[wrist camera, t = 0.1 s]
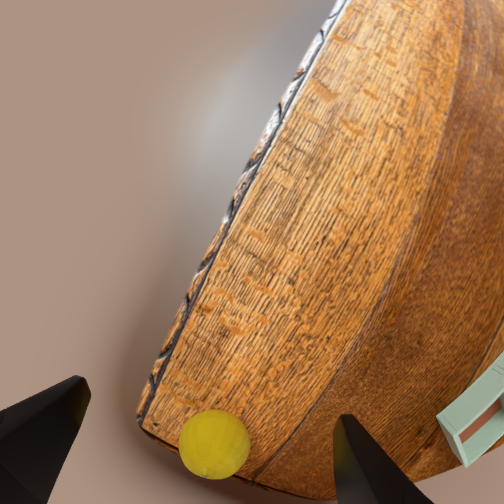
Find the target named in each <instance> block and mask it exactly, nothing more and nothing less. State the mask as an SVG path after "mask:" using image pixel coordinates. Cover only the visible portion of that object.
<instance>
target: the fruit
mask: <svg viewBox="0 0 504 504" xmlns="http://www.w3.org/2000/svg"><path fill="white" fill-rule="evenodd" d="M250 446H251V444H250V438H249V433H248V430H247V428H246V427H245V426H244V424H243V423H242V421H241V420H240V419H238V418H237V417H236V416H234V415H233V414H231V413H229V412H227V411H224V410H218V409H212V410H206V411H203V412H200V413H198V414H196V415H194V416H193V417H191V418H190V419H189V420H188V421H187V422H186V423H185V425H184V427H183V428H182V430H181V432H180V436H179V452H180V456H181V458H182V460H183V462H184V464H185V466H186V467H187V468H188V469H189V470H190V471H191V472H193V473H194V474H196V475H198V476H201V477H204V478H208V479H223V478H227V477H229V476H231V475H233V474H234V473H235V472H237V471H238V469H239V468H240V467H241V466H242V465H243V464H244V463H245V461H246V459H247V457H248V454H249V450H250Z"/></svg>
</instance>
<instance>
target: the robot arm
mask: <svg viewBox="0 0 504 504" xmlns="http://www.w3.org/2000/svg"><path fill="white" fill-rule="evenodd" d="M90 399H91V391H90V389H89V386H88V384H87V381H86V379H85V378H84V377H81V376H78V375H74V376H72V377H70V378H68V379H66V380H64V381H62V382H60V383H58V384H56V385H54V386H52V387H50V388H48V389H46V390H44V391H42V392H39V393H37V394H35V395H33V396H31V397H29V398H27V399H25V400H23V401H21V402H19V403H16V404H14V405H12V406H10V407H8V408H6V409H4V410H2V411H0V504H47V502H48V499H49V497H50V494H51V492H52V490H53V487H54V485H55V482H56V479H57V477H58V475H59V473H60V470H61V468H62V466H63V464H64V462H65V459H66V457H67V455H68V453H69V451H70V448H71V446H72V444H73V442H74V440H75V438H76V436H77V434H78V431H79V429H80V427H81V424H82V421H83V418H84V416H85V413H86V410H87V407H88V404H89V402H90ZM333 454H334V478H335V485H336V492H337V500H338V504H434V503H433V502H432V501H431V500H430V499H429V498H427V497H426V496H425V495H424V494H423V493H422V492H421V491H420V490H419V489H418V488H417V487H416V486H415V485H414V484H413V482H412V481H411V480H409V478H408V477H407V476H406V475H405V474H404V473H403V472H402V470H401V469H400V468H399V467H398V466H397V465H396V464H395V463H394V461H393V460H392V459H391V458H390V457H389V456H388V455H387V454H386V452H385V451H384V450H383V449H382V448H381V447H380V446H379V444H378V443H377V442H376V441H375V440H374V439H373V438H372V436H371V435H370V434H369V433H368V432H367V431H366V429H365V428H364V427H363V426H362V425H361V424H360V423H359V421H358V420H357V419H356V418H355V417H354V416H353V415H352V414H341V415H340V416H339V417H338V420H337V422H336V425H335V427H334V430H333Z"/></svg>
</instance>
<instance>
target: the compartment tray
mask: <svg viewBox="0 0 504 504" xmlns="http://www.w3.org/2000/svg"><path fill="white" fill-rule="evenodd" d="M436 418H437V420H438V422H439V424H440V426H441V428H442V430H443V433H444V435H445V437H446V439H447V441H448V443H449V445H450V448H451V450H452V451H453V452H454V454H455V455H456V456H457V458H458V459H459V460H460V462H461V463H462V464H463V466H464V467H465V468H466V467H468V466H469V465H470V464H471V463H472V462H474V461H475V460H476V459H477V458H478V457H480V456H481V455H482V454H483V453H484V452H485V451H486V450H487V449H489V448H490V447H491V446H492V445H493V444H494V443H495V442H496V441H497V440H498V439H499V438H500V437H501V436H502V435H503V434H504V351H503V352H502V353H501V354H500V355H499V356H498V358H497V359H496V360H495V361H494V362H493V363H492V364H491V365H490V366H489V367H488V368H487V370H486V371H485V372H484V373H483V374H482V375H481V376H480V377H479V378H478V379H477V380H476V381H475V382H474V383H473V384H472V385H471V386H470V387H468V388H467V389H466V390H465V391H464V392H463V393H462V394H461V395H460V396H459V397H458V398H457V399H455V400H454V401H453V402H452V403H451V404H450V405H448V406H447V407H446V408H445V409H444V410H443V411H441V412H440V413H439V414H438V415H436Z"/></svg>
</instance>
